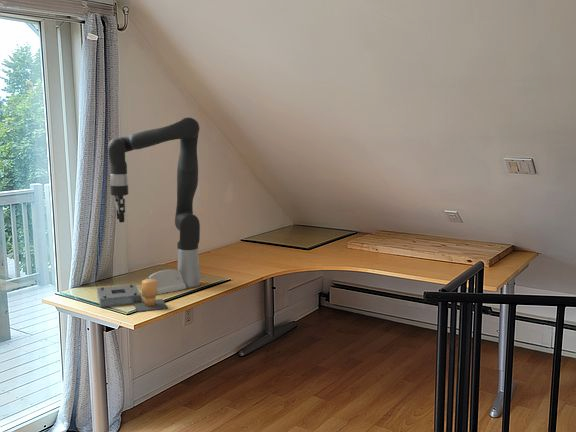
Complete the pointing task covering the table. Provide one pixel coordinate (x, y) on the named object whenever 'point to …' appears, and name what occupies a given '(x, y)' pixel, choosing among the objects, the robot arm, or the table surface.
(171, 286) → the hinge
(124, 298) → the housing
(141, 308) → the mat
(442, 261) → the table surface
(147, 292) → the wooden block
